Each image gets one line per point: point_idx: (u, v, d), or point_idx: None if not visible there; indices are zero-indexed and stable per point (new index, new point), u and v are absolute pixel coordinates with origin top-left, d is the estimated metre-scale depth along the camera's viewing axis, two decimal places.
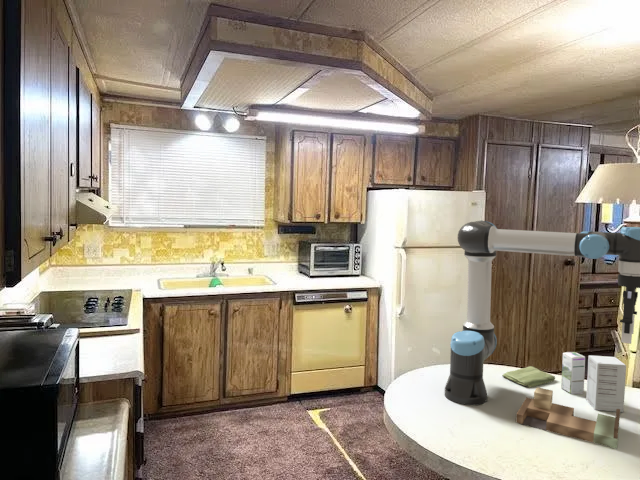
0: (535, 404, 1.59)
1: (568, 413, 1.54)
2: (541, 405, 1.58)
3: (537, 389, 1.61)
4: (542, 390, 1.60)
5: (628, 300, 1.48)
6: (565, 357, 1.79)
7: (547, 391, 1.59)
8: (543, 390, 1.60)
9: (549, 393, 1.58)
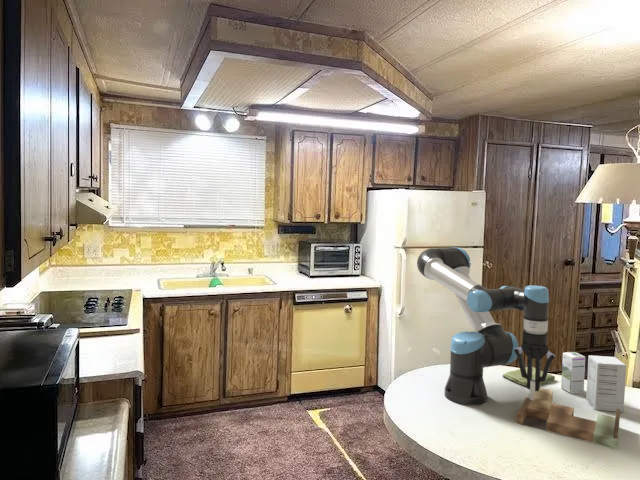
0: (535, 404, 1.59)
1: (568, 413, 1.54)
2: (541, 405, 1.58)
3: None
4: (542, 391, 1.60)
5: None
6: (565, 357, 1.79)
7: (547, 391, 1.59)
8: (543, 390, 1.60)
9: (549, 393, 1.58)
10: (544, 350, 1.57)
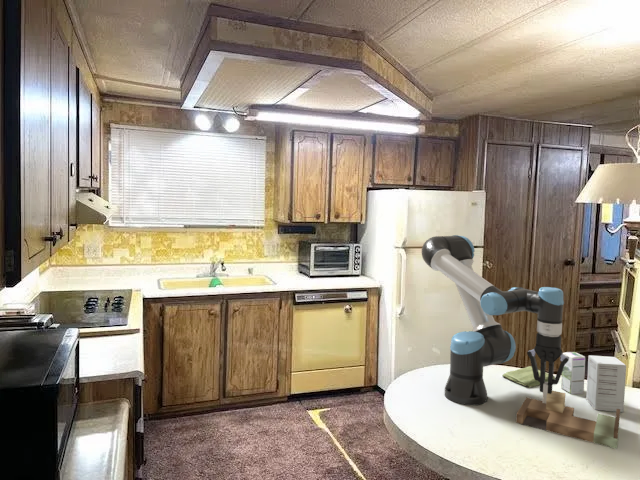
0: (548, 407, 1.57)
1: (568, 413, 1.54)
2: (554, 408, 1.56)
3: None
4: (554, 393, 1.58)
5: None
6: None
7: (559, 394, 1.57)
8: (556, 393, 1.58)
9: (562, 396, 1.56)
10: (558, 353, 1.55)
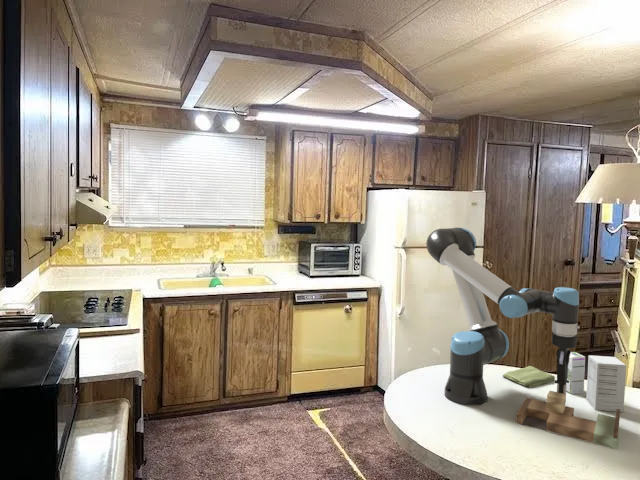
0: (548, 408, 1.56)
1: (568, 413, 1.54)
2: (554, 409, 1.55)
3: (550, 392, 1.58)
4: (555, 394, 1.57)
5: (560, 366, 1.55)
6: None
7: (560, 395, 1.57)
8: (556, 393, 1.57)
9: (563, 397, 1.55)
10: None
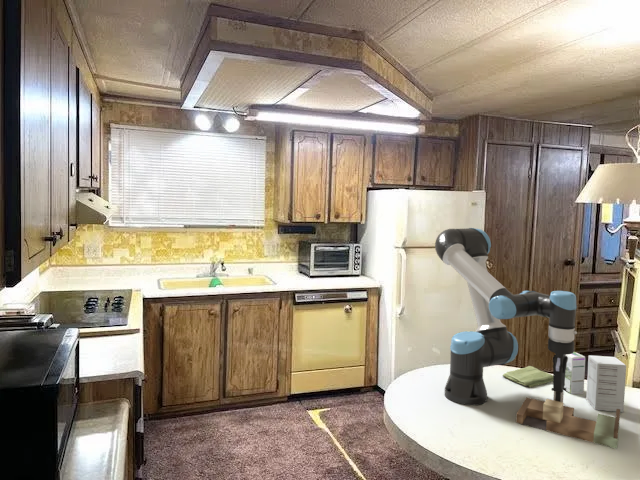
0: (544, 417, 1.50)
1: (568, 413, 1.54)
2: (551, 418, 1.49)
3: (547, 401, 1.52)
4: (552, 402, 1.51)
5: (557, 373, 1.48)
6: None
7: (557, 403, 1.50)
8: (553, 402, 1.51)
9: (560, 405, 1.48)
10: (565, 354, 1.54)
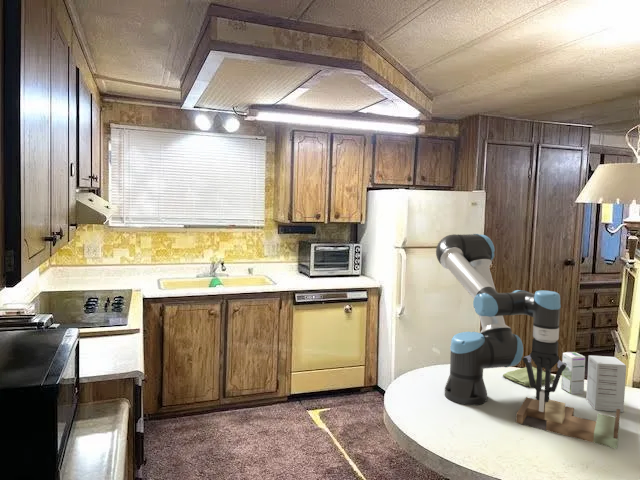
0: (546, 417, 1.49)
1: (568, 413, 1.54)
2: (553, 419, 1.48)
3: (548, 401, 1.51)
4: (553, 403, 1.50)
5: None
6: (565, 357, 1.79)
7: (559, 404, 1.50)
8: (555, 402, 1.50)
9: (562, 406, 1.48)
10: (555, 359, 1.49)
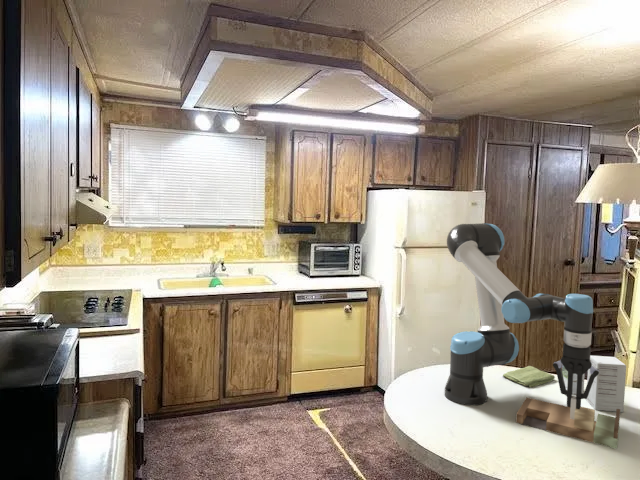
0: (576, 425, 1.44)
1: (568, 413, 1.54)
2: (583, 426, 1.43)
3: None
4: (583, 410, 1.45)
5: None
6: None
7: (589, 410, 1.45)
8: (584, 409, 1.46)
9: (592, 413, 1.43)
10: (587, 365, 1.44)
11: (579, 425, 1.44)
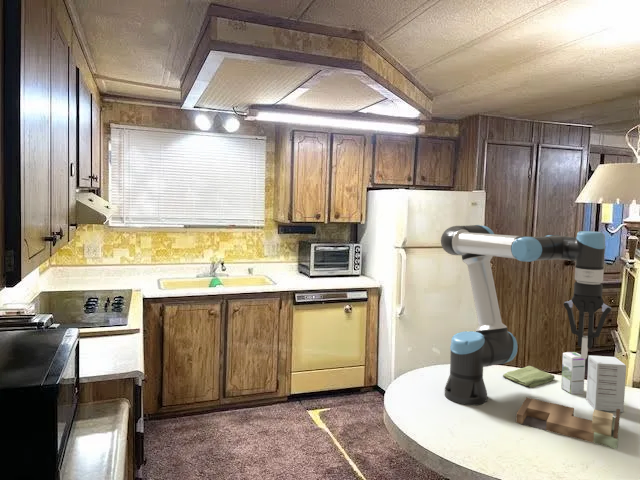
0: (594, 429, 1.42)
1: (568, 413, 1.54)
2: (601, 430, 1.41)
3: (595, 412, 1.44)
4: (601, 414, 1.43)
5: None
6: (565, 357, 1.79)
7: (606, 414, 1.42)
8: (602, 413, 1.43)
9: (610, 417, 1.41)
10: (599, 302, 1.41)
11: (597, 429, 1.41)
